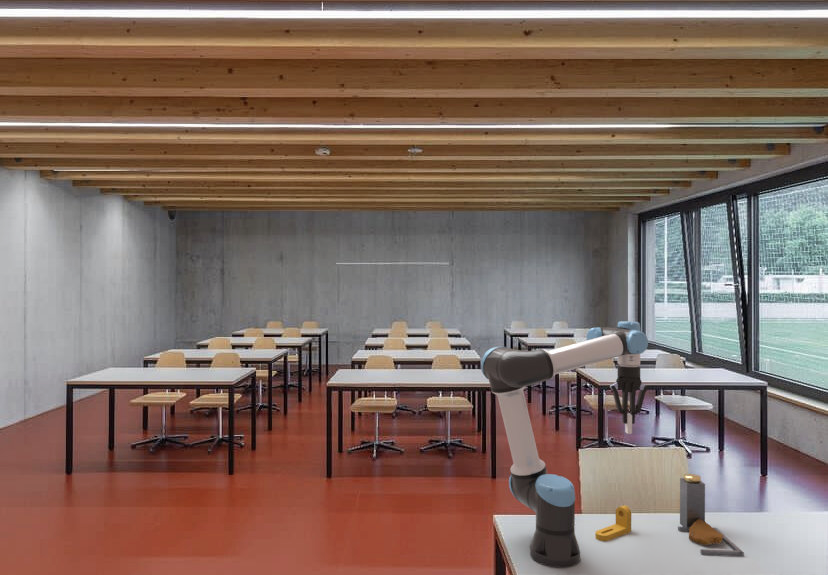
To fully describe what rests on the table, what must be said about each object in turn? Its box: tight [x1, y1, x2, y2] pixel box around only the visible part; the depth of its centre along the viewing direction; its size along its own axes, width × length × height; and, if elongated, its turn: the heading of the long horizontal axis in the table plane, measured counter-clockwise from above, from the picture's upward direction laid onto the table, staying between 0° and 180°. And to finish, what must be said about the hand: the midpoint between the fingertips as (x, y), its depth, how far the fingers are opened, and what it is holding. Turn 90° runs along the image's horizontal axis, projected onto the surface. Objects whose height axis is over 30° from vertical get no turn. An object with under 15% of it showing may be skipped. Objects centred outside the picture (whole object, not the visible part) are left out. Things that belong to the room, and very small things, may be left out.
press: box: [677, 477, 745, 557], centre depth 193 cm, size 13×25×16 cm, turn 177°
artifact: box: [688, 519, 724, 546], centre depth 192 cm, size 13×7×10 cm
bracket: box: [595, 505, 632, 542], centre depth 196 cm, size 15×4×8 cm, turn 125°
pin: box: [683, 473, 702, 483], centre depth 202 cm, size 5×5×8 cm
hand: (628, 432), depth 203 cm, fingers closed
